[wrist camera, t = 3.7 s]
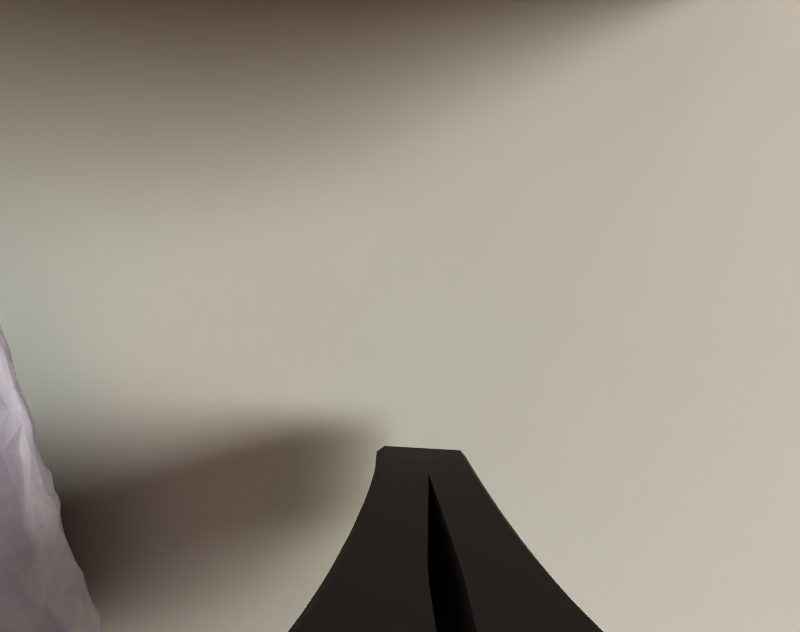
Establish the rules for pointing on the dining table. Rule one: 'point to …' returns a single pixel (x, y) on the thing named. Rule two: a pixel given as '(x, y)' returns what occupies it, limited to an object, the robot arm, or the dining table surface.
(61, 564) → the stone block
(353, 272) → the dining table surface
